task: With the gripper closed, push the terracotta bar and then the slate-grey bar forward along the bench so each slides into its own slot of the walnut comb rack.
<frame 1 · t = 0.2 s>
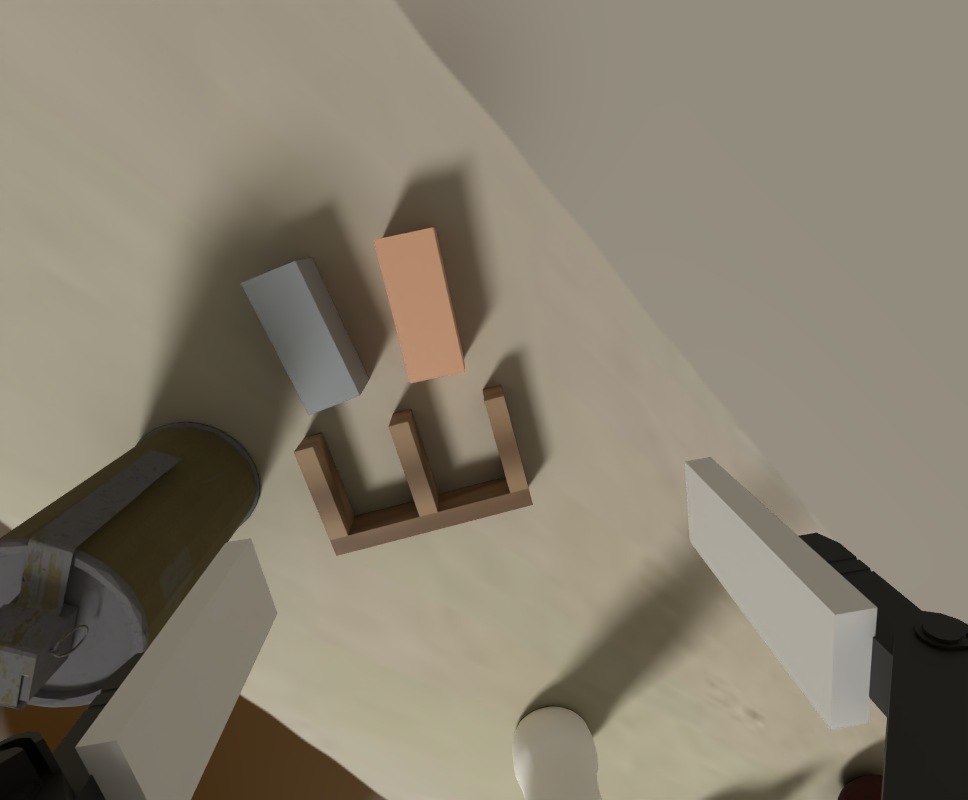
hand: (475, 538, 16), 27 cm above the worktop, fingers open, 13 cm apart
bottle: (549, 731, 55), on the worktop
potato: (858, 782, 59), on the worktop
terracotta bar: (424, 300, 41), on the worktop
comb rack: (416, 455, 44), on the worktop
slate bar: (318, 329, 41), on the worktop
canister: (197, 477, 44), on the worktop
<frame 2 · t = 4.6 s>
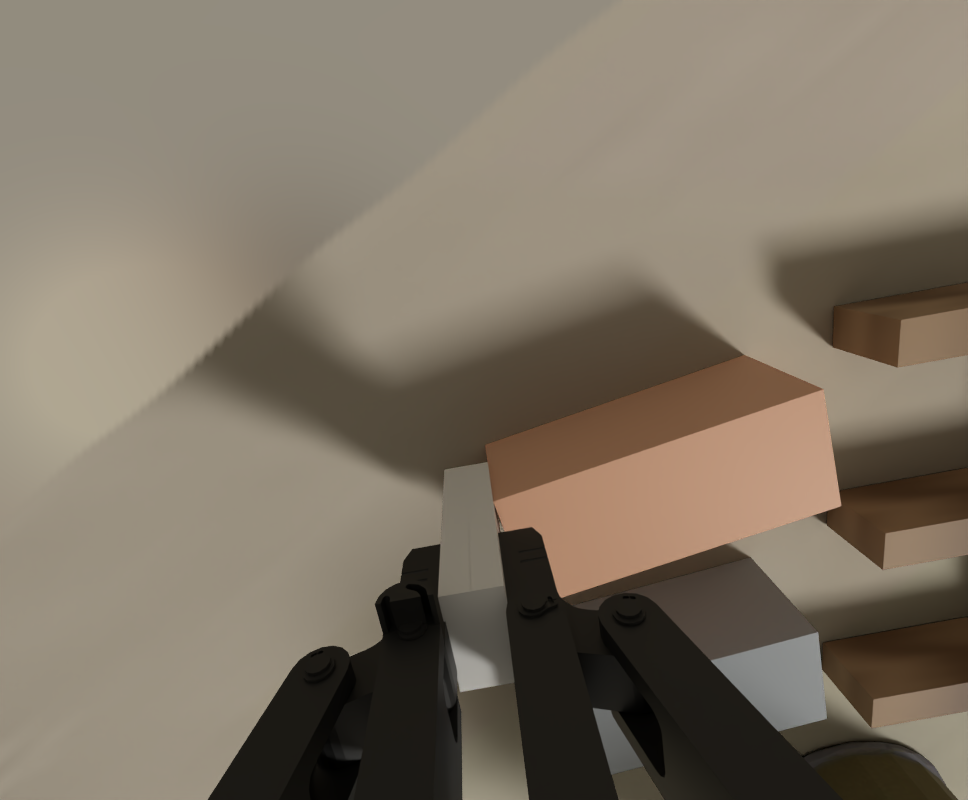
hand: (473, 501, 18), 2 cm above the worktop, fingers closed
terracotta bar: (625, 446, 20), on the worktop, touching gripper
comb rack: (925, 491, 22), on the worktop
slate bar: (640, 623, 23), on the worktop
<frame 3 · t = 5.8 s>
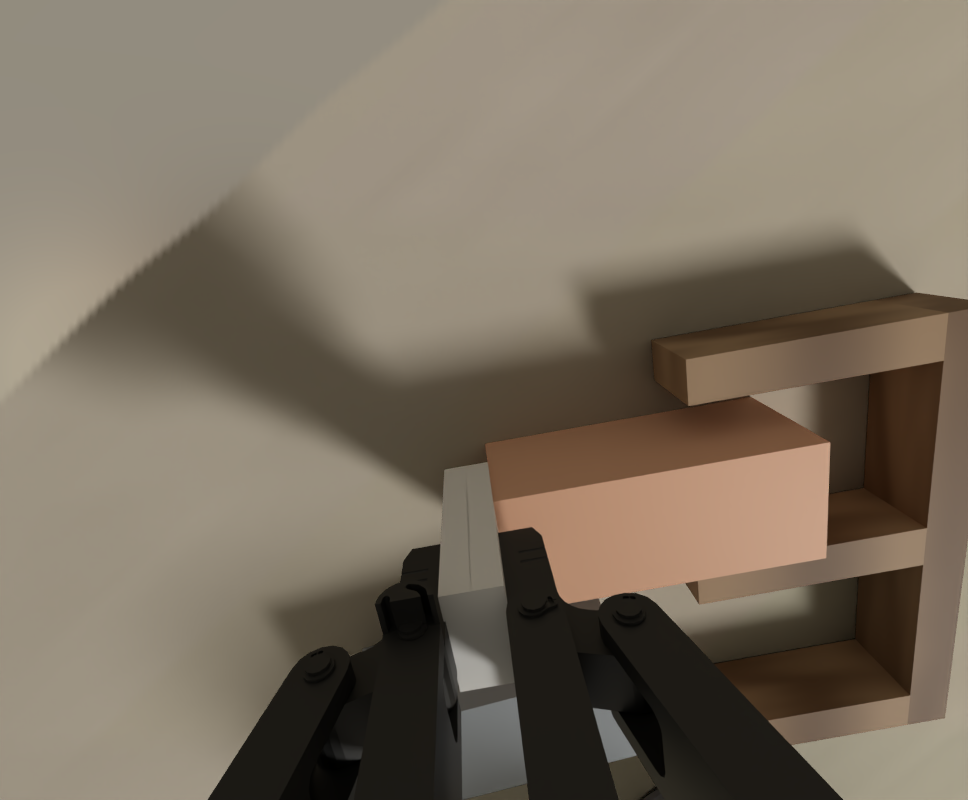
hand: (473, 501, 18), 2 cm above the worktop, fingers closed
terracotta bar: (621, 468, 21), on the worktop, touching gripper
comb rack: (764, 521, 22), on the worktop
slate bar: (489, 651, 23), on the worktop
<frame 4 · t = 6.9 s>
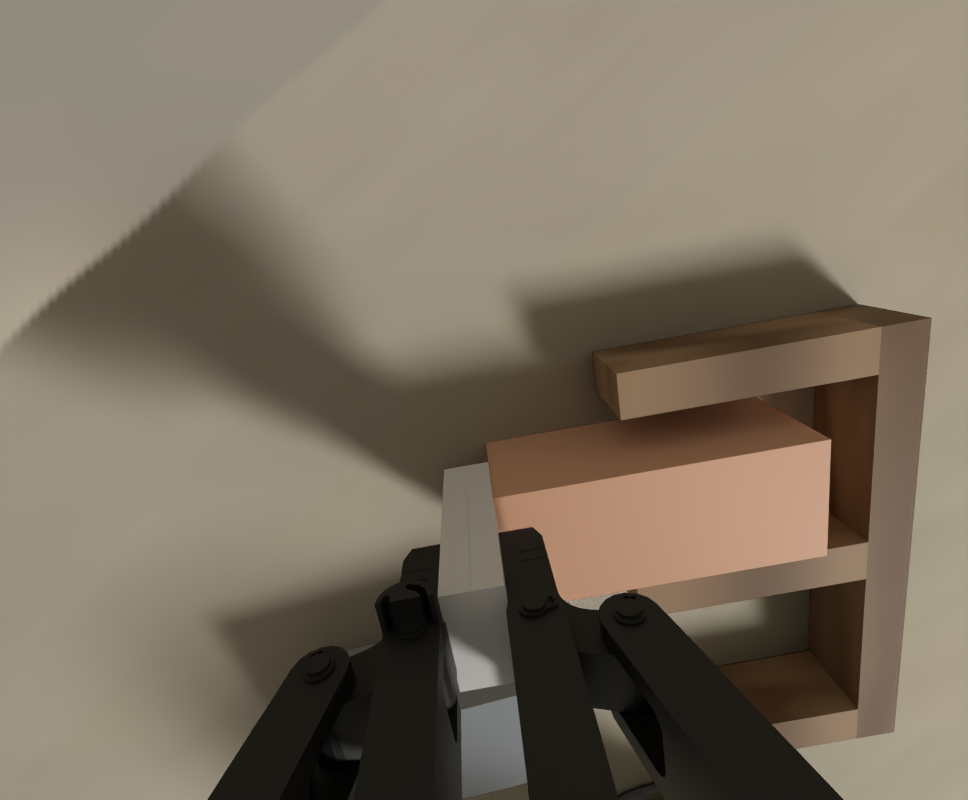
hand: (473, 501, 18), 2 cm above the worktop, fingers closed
terracotta bar: (622, 465, 21), on the worktop
comb rack: (713, 533, 21), on the worktop
slate bar: (440, 662, 23), on the worktop
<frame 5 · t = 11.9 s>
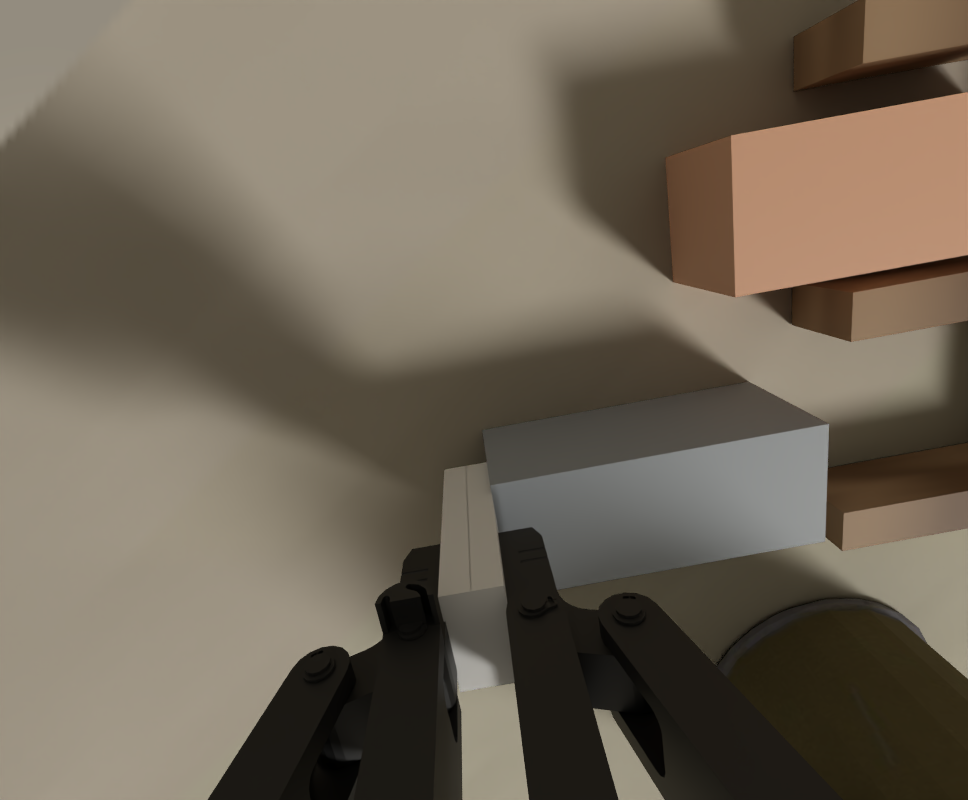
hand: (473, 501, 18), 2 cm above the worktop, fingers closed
terracotta bar: (813, 195, 18), on the worktop
comb rack: (903, 283, 19), on the worktop
slate bar: (619, 454, 20), on the worktop, touching gripper
canister: (807, 686, 25), on the worktop
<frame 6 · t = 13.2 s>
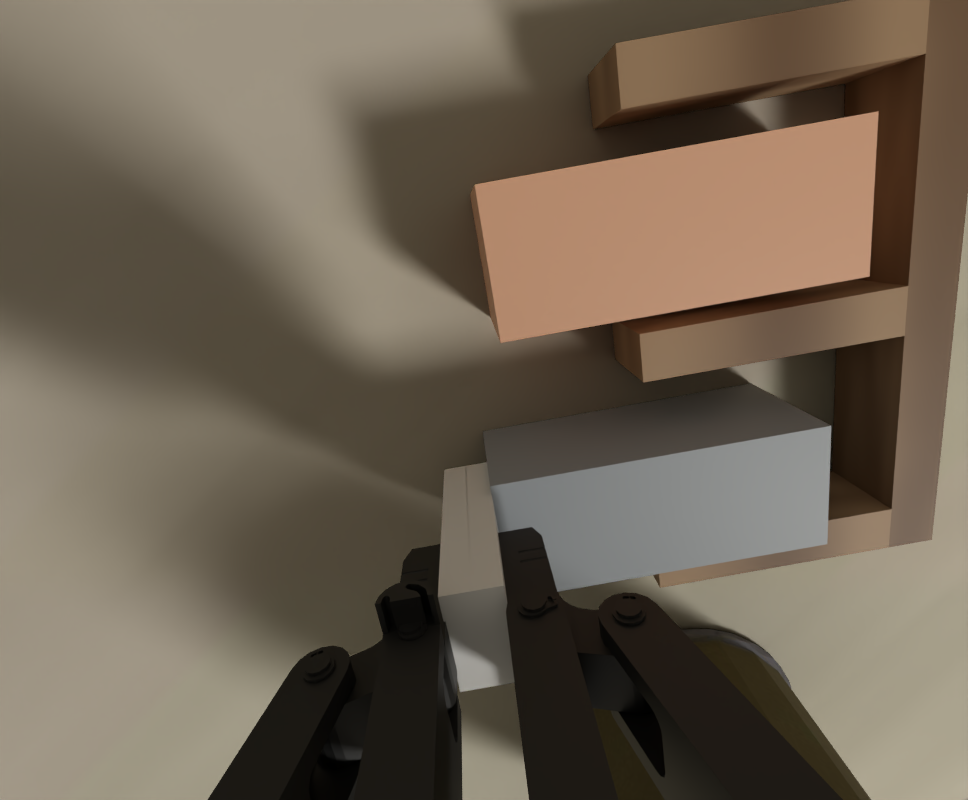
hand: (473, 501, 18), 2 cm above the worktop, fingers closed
terracotta bar: (627, 231, 18), on the worktop
comb rack: (725, 318, 19), on the worktop
slate bar: (621, 455, 20), on the worktop, touching gripper
canister: (670, 714, 25), on the worktop
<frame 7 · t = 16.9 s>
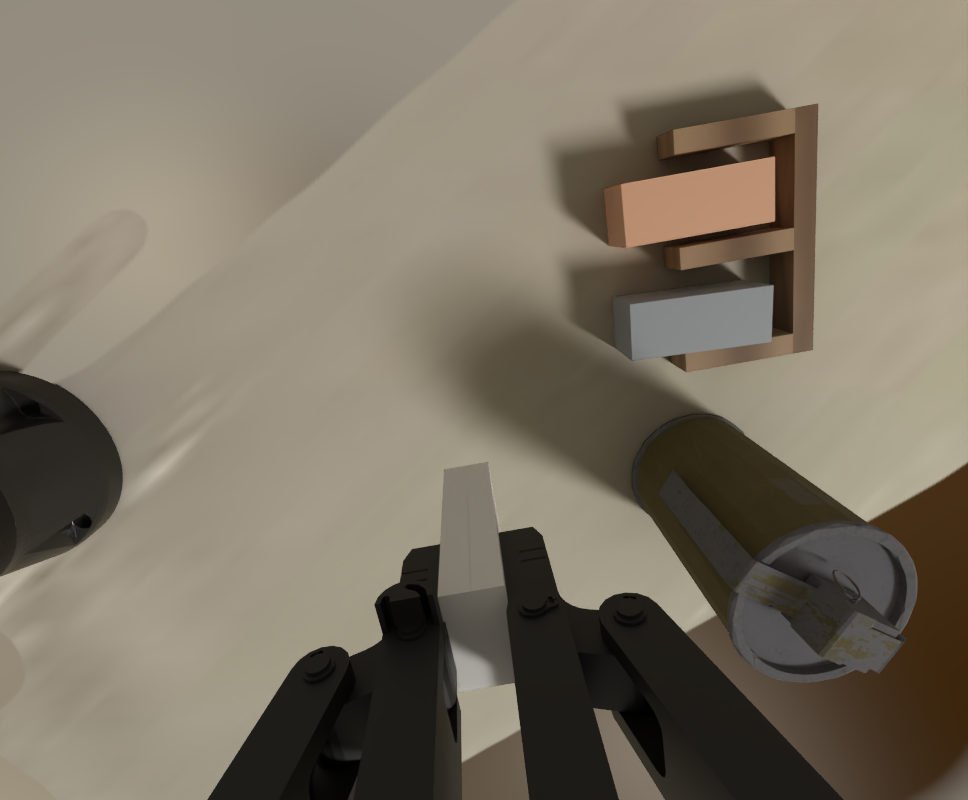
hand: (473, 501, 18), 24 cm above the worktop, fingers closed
terracotta bar: (672, 205, 39), on the worktop
comb rack: (717, 247, 40), on the worktop
slate bar: (676, 313, 42), on the worktop
canister: (688, 469, 46), on the worktop
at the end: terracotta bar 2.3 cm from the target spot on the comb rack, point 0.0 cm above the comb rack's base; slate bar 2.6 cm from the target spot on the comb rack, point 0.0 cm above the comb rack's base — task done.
